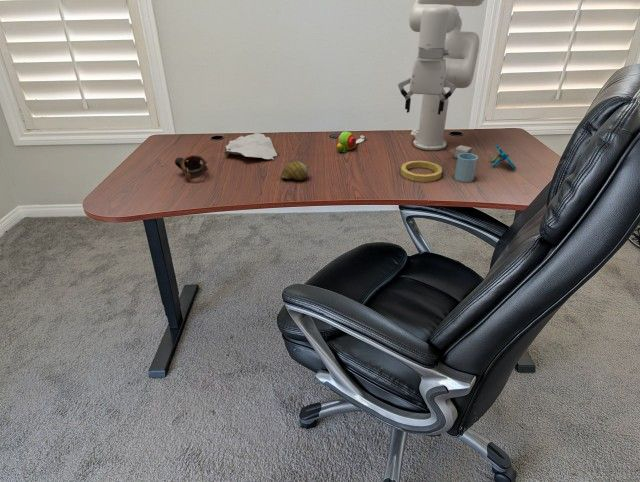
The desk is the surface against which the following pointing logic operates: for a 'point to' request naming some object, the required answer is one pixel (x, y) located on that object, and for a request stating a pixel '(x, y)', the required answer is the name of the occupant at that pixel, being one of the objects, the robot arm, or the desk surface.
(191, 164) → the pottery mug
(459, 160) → the cup
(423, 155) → the desk surface
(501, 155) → the blue branched piece
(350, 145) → the toy measuring tape
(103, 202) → the desk surface
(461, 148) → the usb wall charger
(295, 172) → the seashell
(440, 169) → the ring
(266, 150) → the paper
